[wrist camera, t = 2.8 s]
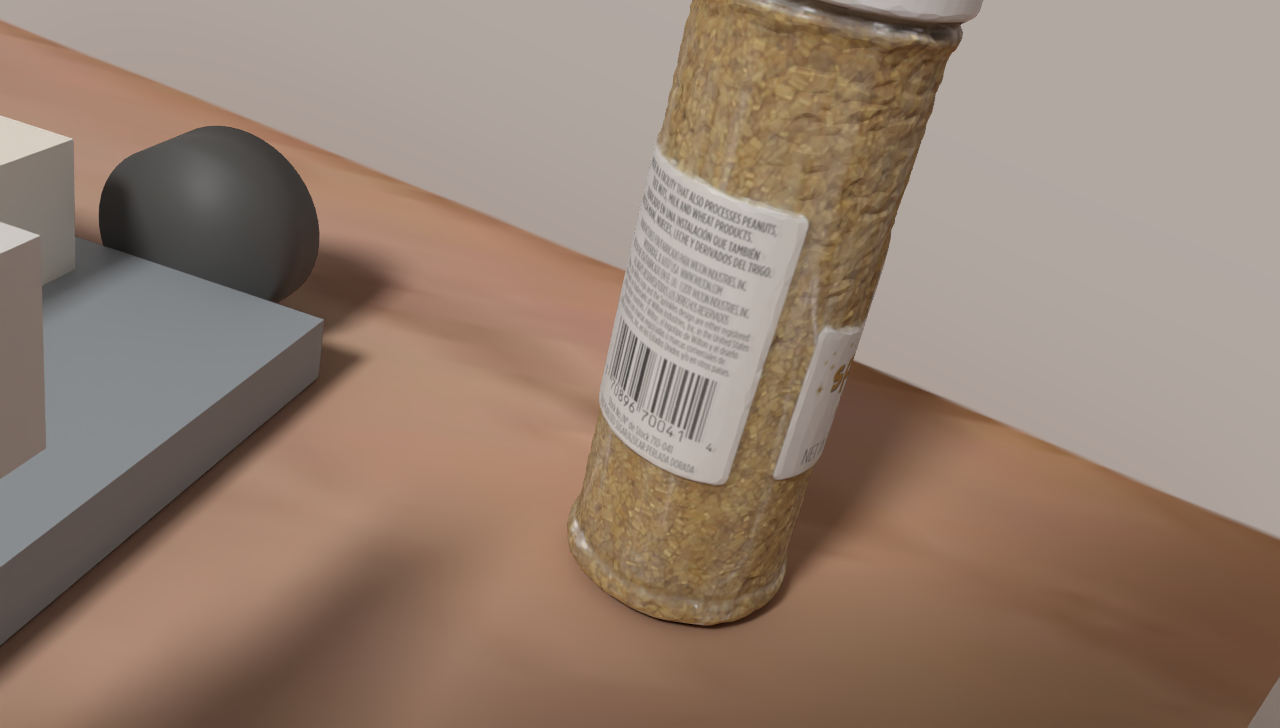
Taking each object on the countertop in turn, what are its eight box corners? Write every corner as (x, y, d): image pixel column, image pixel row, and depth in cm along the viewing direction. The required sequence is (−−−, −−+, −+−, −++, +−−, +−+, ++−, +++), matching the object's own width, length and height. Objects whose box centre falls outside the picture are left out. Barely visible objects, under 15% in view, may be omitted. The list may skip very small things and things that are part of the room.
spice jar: (821, 615, 23) (1085, -92, 17) (617, 653, 21) (832, -142, 15) (711, 479, 27) (897, -153, 20) (525, 500, 25) (668, -200, 18)
